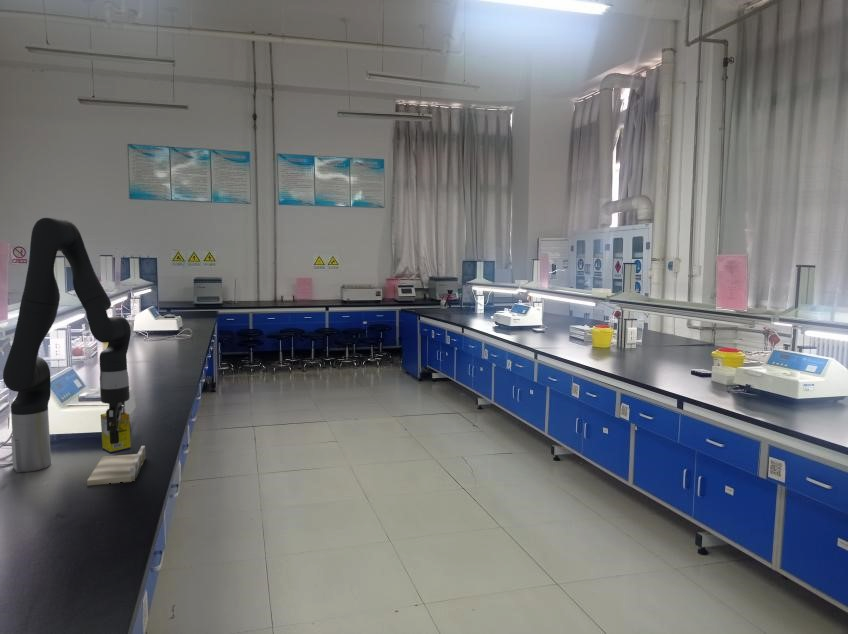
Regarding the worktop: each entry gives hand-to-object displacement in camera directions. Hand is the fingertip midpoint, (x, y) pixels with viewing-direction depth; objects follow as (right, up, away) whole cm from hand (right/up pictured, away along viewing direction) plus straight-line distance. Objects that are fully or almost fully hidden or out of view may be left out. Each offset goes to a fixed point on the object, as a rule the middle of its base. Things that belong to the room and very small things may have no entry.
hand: (117, 439), depth 176 cm
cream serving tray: (0, -10, +1) cm, 10 cm away
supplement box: (0, -3, 0) cm, 3 cm away
